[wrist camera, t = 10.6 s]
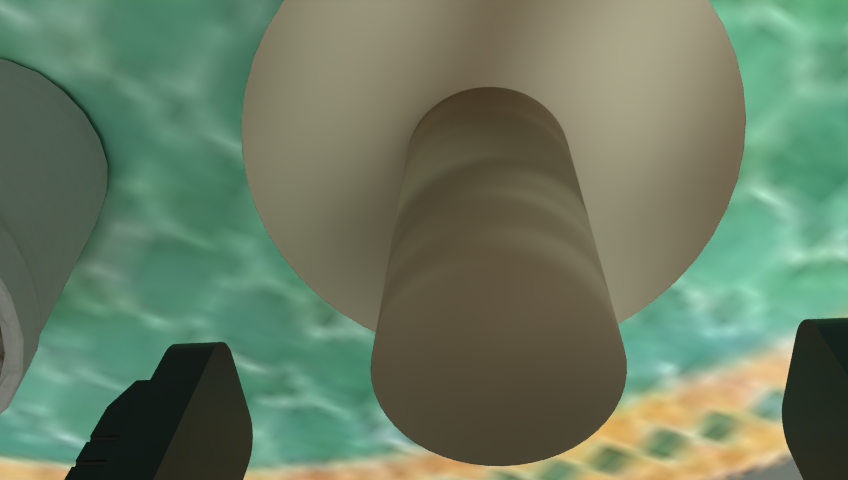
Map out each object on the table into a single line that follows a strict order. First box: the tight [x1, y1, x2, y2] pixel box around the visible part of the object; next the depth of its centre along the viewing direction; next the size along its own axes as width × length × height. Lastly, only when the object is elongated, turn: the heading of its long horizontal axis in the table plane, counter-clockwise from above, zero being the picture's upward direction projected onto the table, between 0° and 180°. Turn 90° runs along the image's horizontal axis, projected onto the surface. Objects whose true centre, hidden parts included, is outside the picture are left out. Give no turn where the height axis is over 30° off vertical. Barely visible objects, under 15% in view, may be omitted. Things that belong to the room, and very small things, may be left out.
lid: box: [241, 0, 746, 466], centre depth 14 cm, size 11×11×8 cm
